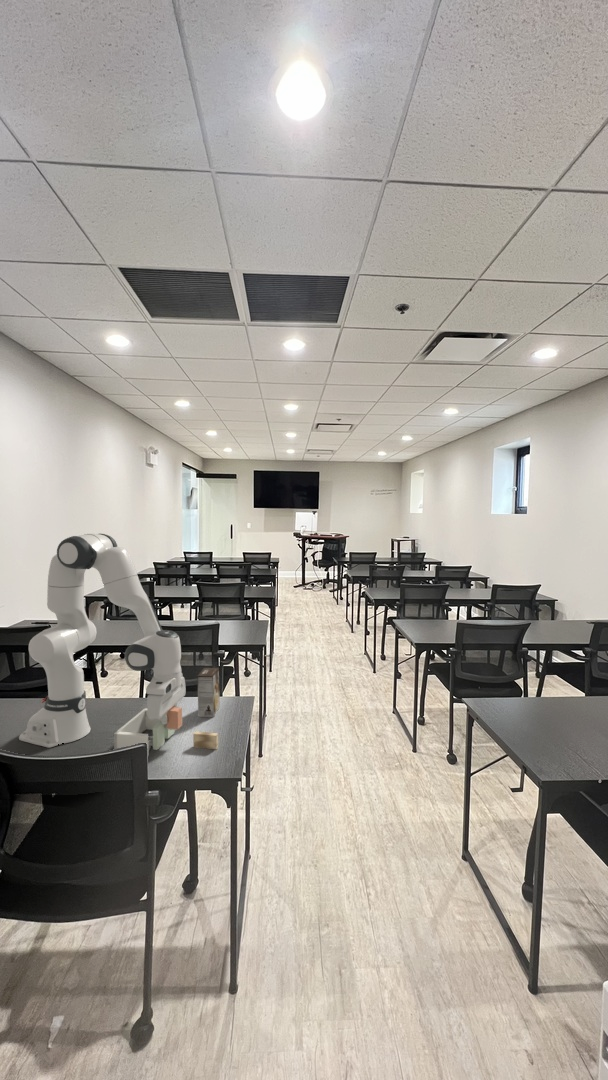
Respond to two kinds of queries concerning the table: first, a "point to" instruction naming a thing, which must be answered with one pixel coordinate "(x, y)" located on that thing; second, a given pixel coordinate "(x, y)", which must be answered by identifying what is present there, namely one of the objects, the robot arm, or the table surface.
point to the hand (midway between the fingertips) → (168, 720)
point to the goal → (135, 730)
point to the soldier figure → (150, 742)
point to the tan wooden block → (205, 740)
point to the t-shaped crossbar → (167, 727)
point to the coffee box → (208, 692)
